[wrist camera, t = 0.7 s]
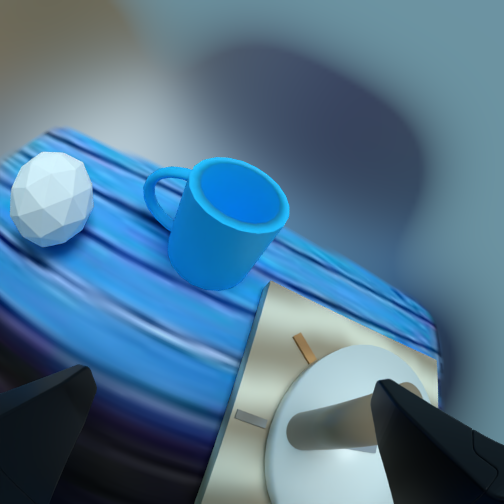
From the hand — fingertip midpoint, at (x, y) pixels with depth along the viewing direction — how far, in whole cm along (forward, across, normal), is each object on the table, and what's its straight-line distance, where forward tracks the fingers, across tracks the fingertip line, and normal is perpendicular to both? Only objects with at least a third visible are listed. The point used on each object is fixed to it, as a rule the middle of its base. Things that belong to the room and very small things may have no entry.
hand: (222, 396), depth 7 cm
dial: (+8, -10, +15) cm, 20 cm away
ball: (+14, +18, -3) cm, 23 cm away
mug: (+20, +6, 0) cm, 20 cm away
